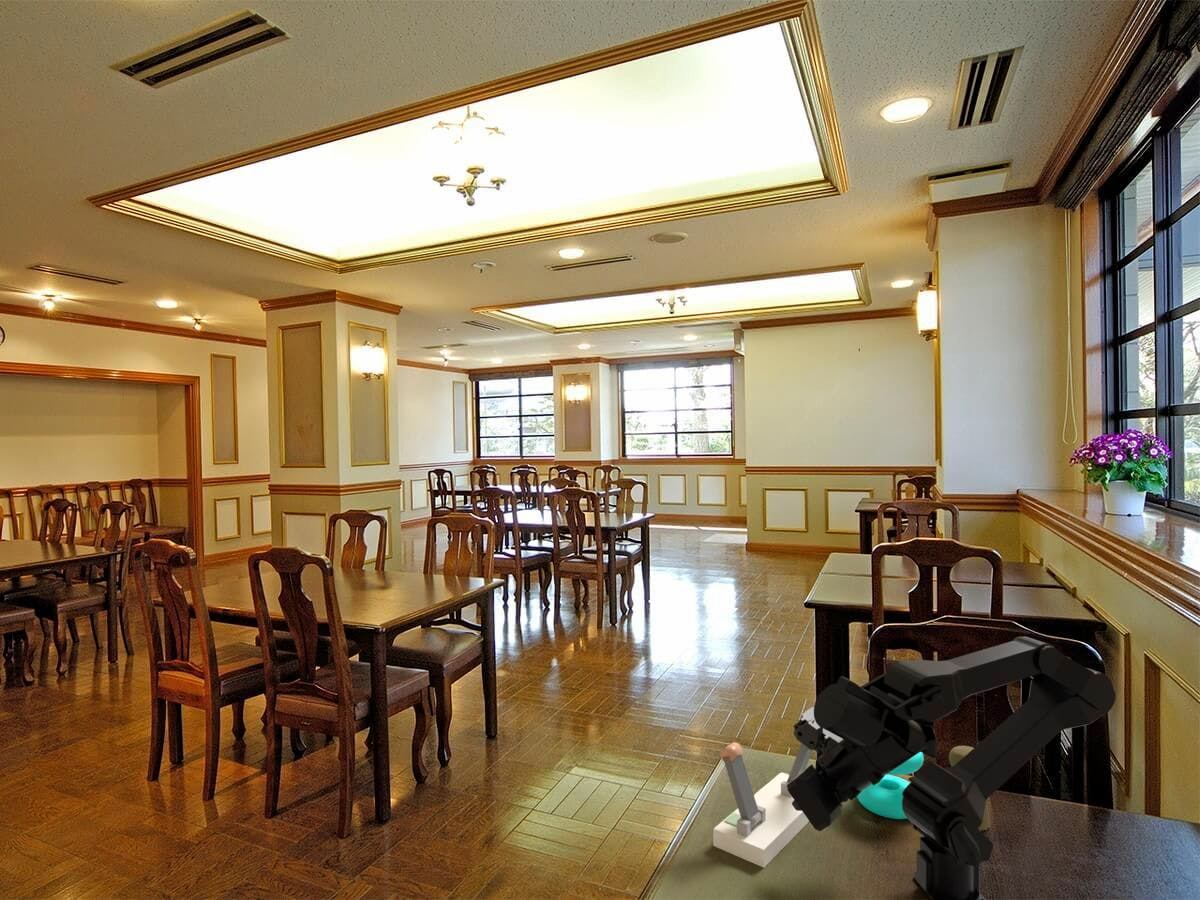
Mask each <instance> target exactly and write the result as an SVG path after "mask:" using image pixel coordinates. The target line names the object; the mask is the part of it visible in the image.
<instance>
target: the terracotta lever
mask: <svg viewBox="0 0 1200 900" xmlns="http://www.w3.org/2000/svg"><path fill="white" fill-rule="evenodd" d="M742 748H743V747H742V746H741V745H740V744H739V743H738V742H737V741H733V742H731V743H730V744H729V745H727V746H725V747H724V748H722V749H721V751H720V754H719V755H720V756H719V757H720V759H721V760H722V762H724V765H725V769H726V772H727V776H728V778H729V783H730V785H731V789H732V791H733V792H732V793H733V795H734V798H735V803H736V805H737V809H739V812H740V816H741V818H742V819H745V820H747V821H750V822H751V829H752V828H753V827H754V826H755V825H756V824H757V823H758V822H759V821H760V820H761V814H760V813H759V811H758V807H757V804H756V801H755V798H754V790H753V789H752V785H751V782H750V778H749V775H748V771H747V769H746V766H745V762H744V759H743V756H742V753H743V749H742Z"/></svg>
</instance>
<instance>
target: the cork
mask: <svg viewBox="0 0 1200 900" xmlns="http://www.w3.org/2000/svg"><path fill="white" fill-rule="evenodd" d="M974 748H975V747H973V746H968V745H957V746H955V747H953V748H951V750H950V752H949V755H948V761H949V764H950V767H952V766H954V765H956V764H957V763H958V762H959V761H960V760H961V759H962V758H964V757H965V756H966V755H967V754H968V753H969V752H970V751H971V750H973V749H974ZM990 825H991V819H990V813H989V805H988V799H987V800H986V804H985V810H984V816H983V822H982V824H981V825H980V826H979V828H978V829H979V830H980V831H982V830H986V831H988V830H989V829H990V828H991V826H990ZM989 827H990V828H989ZM988 828H989V829H988ZM987 829H988V830H987ZM982 832H983V831H982Z"/></svg>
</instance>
